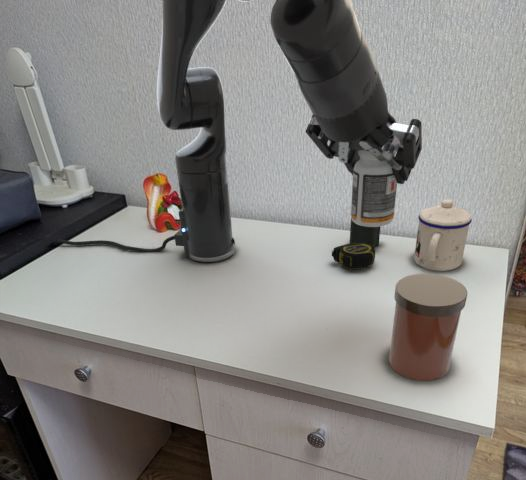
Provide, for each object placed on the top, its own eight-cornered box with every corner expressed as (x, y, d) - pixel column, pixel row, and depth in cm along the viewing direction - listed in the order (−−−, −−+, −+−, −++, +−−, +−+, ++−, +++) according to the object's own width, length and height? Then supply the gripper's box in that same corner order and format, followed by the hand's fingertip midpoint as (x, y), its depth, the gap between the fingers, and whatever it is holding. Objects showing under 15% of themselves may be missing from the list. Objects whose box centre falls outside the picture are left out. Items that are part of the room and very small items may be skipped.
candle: (371, 253, 98) (382, 116, 83) (347, 248, 100) (354, 114, 86) (380, 244, 101) (393, 110, 87) (357, 239, 104) (366, 109, 89)
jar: (384, 377, 66) (393, 302, 59) (389, 341, 73) (397, 271, 66) (451, 386, 64) (469, 309, 57) (450, 349, 70) (466, 276, 64)
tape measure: (361, 255, 97) (362, 237, 95) (381, 268, 92) (383, 249, 90) (331, 262, 95) (331, 244, 93) (349, 276, 90) (351, 257, 88)
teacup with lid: (419, 248, 99) (428, 190, 92) (467, 256, 95) (479, 195, 88) (402, 273, 90) (410, 211, 83) (453, 282, 86) (466, 218, 80)
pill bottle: (400, 219, 67) (409, 141, 61) (379, 231, 63) (387, 150, 58) (364, 211, 70) (369, 136, 64) (342, 223, 67) (345, 145, 61)
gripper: (422, 51, 47) (445, 154, 61) (295, 51, 54) (343, 143, 69) (392, 122, 46) (423, 209, 61) (269, 112, 54) (322, 192, 68)
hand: (380, 174), depth 65 cm, fingers closed on pill bottle, 5 cm apart
